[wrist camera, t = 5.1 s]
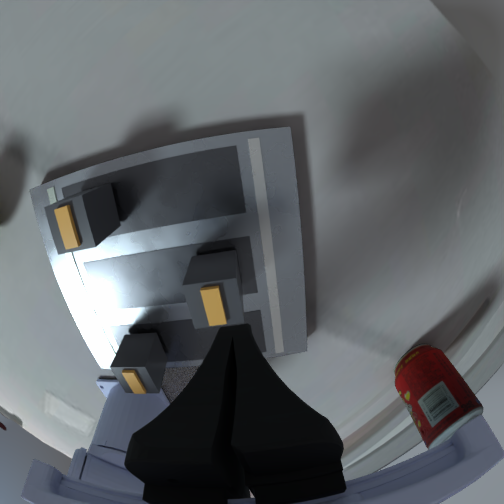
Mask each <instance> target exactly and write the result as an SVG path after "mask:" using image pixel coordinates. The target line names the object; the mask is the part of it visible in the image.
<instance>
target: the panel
mask: <svg viewBox="0 0 504 504" xmlns="http://www.w3.org/2000/svg"><path fill="white" fill-rule="evenodd" d="M109 183H111V186H112V191H113V195H114V199H115V204H116V208H117V212H118V216H119V220H120V224H121V226H120V227H119V228H118V229H116V230H115V231H114V232H113V233H112V234H110V235H109V236H108V237H107V238H106V239H105V240H104V241H102V242H101V243H100V244H99V245H98V246H97V247H94V248H89V249H84V250H79V251H74V252H70V253H65V254H60V255H58V253H57V250H56V247H55V244H54V241H53V237H52V234H51V231H50V227H49V224H48V220H47V217H46V213H45V209H44V207H46V206H48V205H50V204H53V203H55V202H57V201H59V200H62V199H64V198H66V197H68V196H71V195H73V194H76V193H79V192H82V191H85V190H88V189H92V188H95V187H99V186H102V185H106V184H109ZM30 194H31V198H32V202H33V207H34V211H35V214H36V218H37V222H38V225H39V229H40V232H41V235H42V239H43V242H44V245H45V248H46V251H47V254H48V257H49V260H50V262H51V265H52V268H53V270H54V273H55V276H56V278H57V281H58V283H59V286H60V288H61V290H62V293H63V295H64V297H65V300H66V302H67V304H68V306H69V309H70V311H71V313H72V315H73V317H74V319H75V321H76V323H77V325H78V327H79V329H80V331H81V333H82V335H83V337H84V339H85V341H86V343H87V344H88V346H89V348H90V350H91V352H92V353H93V355H94V357H95V359H96V360H97V362H98V364H99V366H100V367H101V369H111V368H110V366H111V363H112V361H113V359H114V357H115V354H116V352H117V350H118V348H119V346H120V344H121V341H122V339H123V337H124V335H126V334H143V333H156V332H157V335H158V337H159V340H160V342H161V345H162V347H163V349H164V352H165V354H166V356H167V359H168V360H167V364H166V368H174V367H190V366H200V365H201V364H202V362H203V360H204V358H205V357H206V355H207V353H208V351H209V349H210V347H211V345H212V343H213V341H214V339H215V337H216V334H217V332H218V329H219V328H220V327H226V326H233V325H240V324H247V323H248V324H250V325H251V329H252V334H253V337H254V339H255V341H256V343H257V345H258V347H259V349H260V351H261V352H262V354H263V356H264V357H265V358H270V357H277V356H283V355H289V354H295V353H300V352H305V351H307V327H306V300H305V280H304V263H303V248H302V234H301V222H300V210H299V199H298V189H297V179H296V169H295V160H294V152H293V143H292V135H291V128H290V127H281V128H271V129H262V130H253V131H245V132H238V133H231V134H225V135H219V136H213V137H207V138H201V139H196V140H191V141H186V142H181V143H176V144H172V145H167V146H163V147H159V148H155V149H150V150H146V151H143V152H139V153H135V154H131V155H128V156H124V157H120V158H117V159H114V160H110V161H107V162H104V163H100V164H97V165H94V166H91V167H88V168H85V169H82V170H79V171H76V172H74V173H71V174H68V175H65V176H63V177H60V178H57V179H55V180H52V181H50V182H47V183H45V184H42V185H40V186H37V187H35V188H33V189H30ZM232 250H236V255H237V261H238V267H239V272H240V278H241V284H242V291H243V306H244V321H245V323H239V324H231V325H223V326H215V327H206V328H197V329H195V328H194V325H193V321H192V318H191V315H190V312H189V308H188V305H187V301H186V298H185V295H184V291H183V287H182V284H183V281H184V278H185V275H186V272H187V269H188V266H189V263H190V260H191V257H192V256H199V255H205V254H212V253H219V252H225V251H232Z"/></svg>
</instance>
